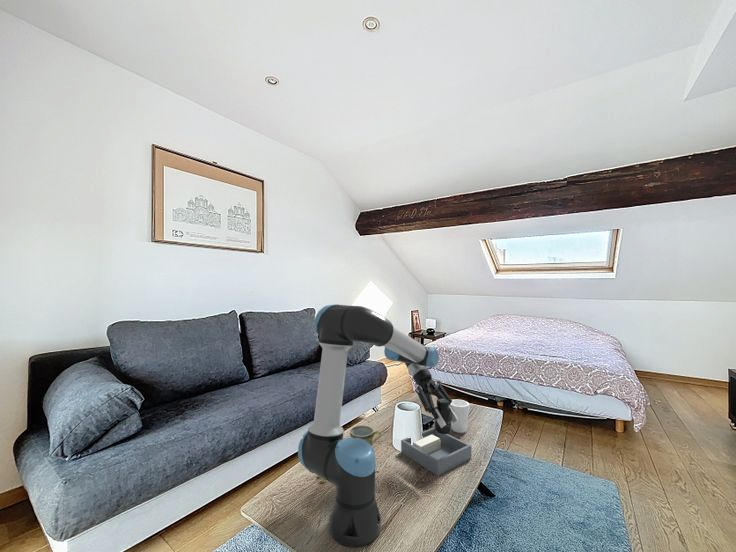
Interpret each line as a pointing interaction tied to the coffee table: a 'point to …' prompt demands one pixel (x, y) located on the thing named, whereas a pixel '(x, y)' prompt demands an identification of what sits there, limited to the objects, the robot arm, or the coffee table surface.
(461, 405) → the foam cup
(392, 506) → the coffee table surface
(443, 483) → the coffee table surface
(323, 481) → the dice set
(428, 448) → the cream rectangular block
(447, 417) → the supplement bottle
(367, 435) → the ceramic cup
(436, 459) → the tote
